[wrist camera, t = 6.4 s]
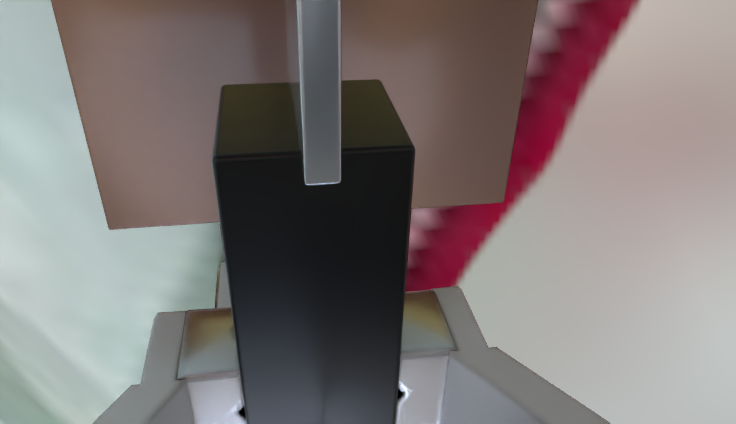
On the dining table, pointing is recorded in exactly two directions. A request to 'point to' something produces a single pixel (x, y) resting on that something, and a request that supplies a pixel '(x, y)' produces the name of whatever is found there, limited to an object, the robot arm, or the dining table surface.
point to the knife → (315, 232)
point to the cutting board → (270, 65)
